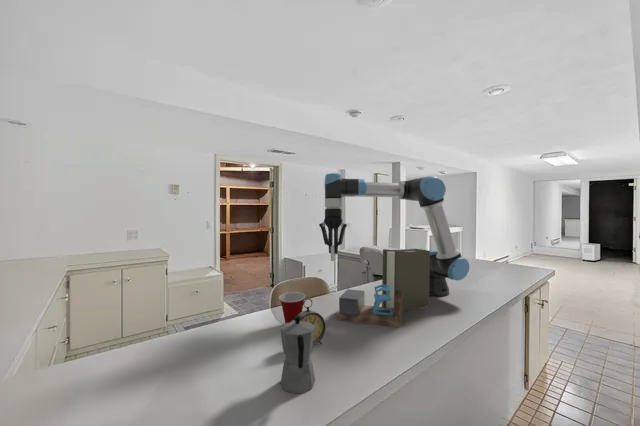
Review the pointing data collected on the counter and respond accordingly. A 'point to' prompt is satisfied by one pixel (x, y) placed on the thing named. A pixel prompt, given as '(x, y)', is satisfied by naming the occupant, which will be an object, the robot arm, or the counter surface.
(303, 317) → the alarm clock
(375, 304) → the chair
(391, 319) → the wooden l-shaped stand
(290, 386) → the coffeepot
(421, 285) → the book
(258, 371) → the counter surface
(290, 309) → the plastic cup
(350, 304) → the gray block
